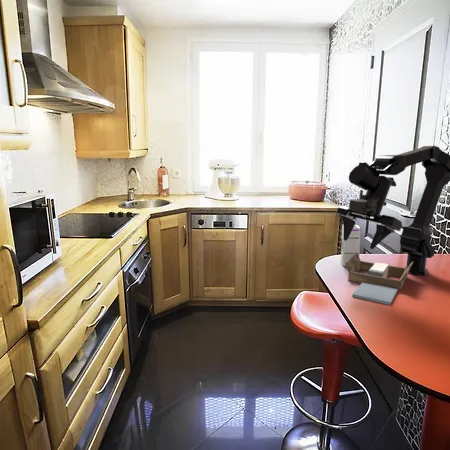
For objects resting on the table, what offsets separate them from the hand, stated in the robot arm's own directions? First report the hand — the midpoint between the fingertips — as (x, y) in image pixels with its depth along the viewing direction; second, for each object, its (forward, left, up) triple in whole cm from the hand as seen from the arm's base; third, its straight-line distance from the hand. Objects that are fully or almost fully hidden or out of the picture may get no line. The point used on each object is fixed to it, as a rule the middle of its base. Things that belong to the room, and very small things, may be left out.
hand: (357, 244), depth 103 cm
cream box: (-11, +4, -13) cm, 18 cm away
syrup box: (-20, -8, -14) cm, 25 cm away
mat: (+3, +6, -13) cm, 15 cm away
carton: (-10, +4, -13) cm, 17 cm away
